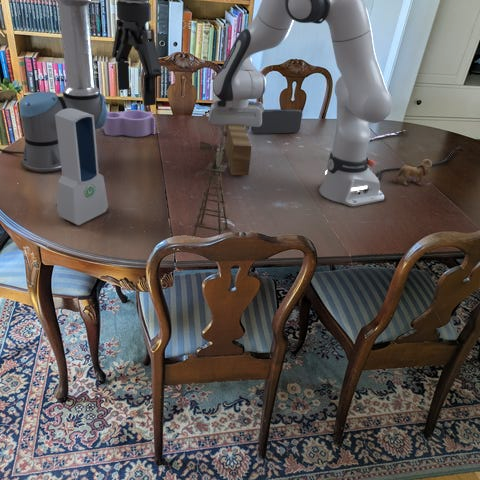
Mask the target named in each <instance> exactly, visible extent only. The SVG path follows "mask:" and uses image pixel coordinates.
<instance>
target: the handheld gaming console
mask: <svg viewBox="0 0 480 480" xmlns="http://www.w3.org/2000/svg"><path fill="white" fill-rule="evenodd" d="M302 118H303V111H302V110H301V109H291V108H290V109H289V108H287V109H284V108H283V109H282V108H281V109H280V108H279V109H278V108H277V109H275V108H274V109H264V111H263V113H262V125H261V126H260V127H250V131H251V133H253V134H255V135H261V134H262V135H263V134H293V133H299V132H300V131H301V127H302V125H301V124H302Z"/></svg>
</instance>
